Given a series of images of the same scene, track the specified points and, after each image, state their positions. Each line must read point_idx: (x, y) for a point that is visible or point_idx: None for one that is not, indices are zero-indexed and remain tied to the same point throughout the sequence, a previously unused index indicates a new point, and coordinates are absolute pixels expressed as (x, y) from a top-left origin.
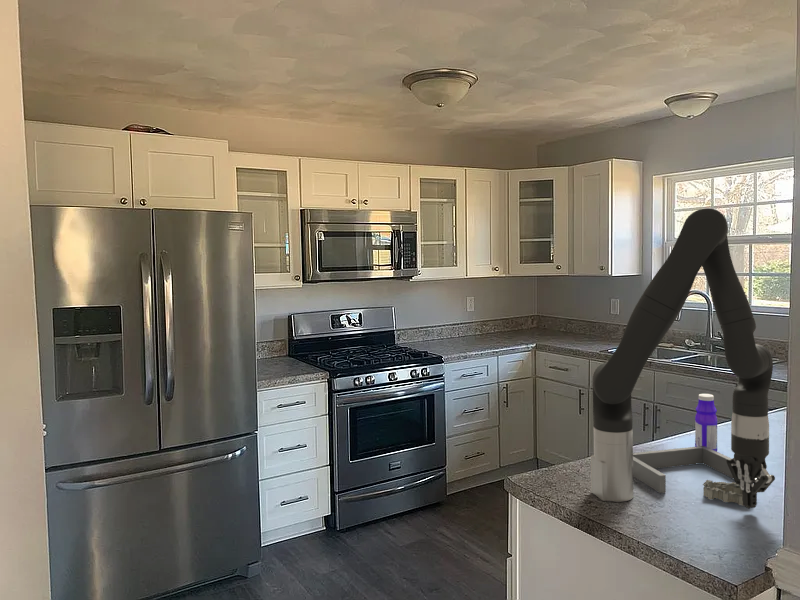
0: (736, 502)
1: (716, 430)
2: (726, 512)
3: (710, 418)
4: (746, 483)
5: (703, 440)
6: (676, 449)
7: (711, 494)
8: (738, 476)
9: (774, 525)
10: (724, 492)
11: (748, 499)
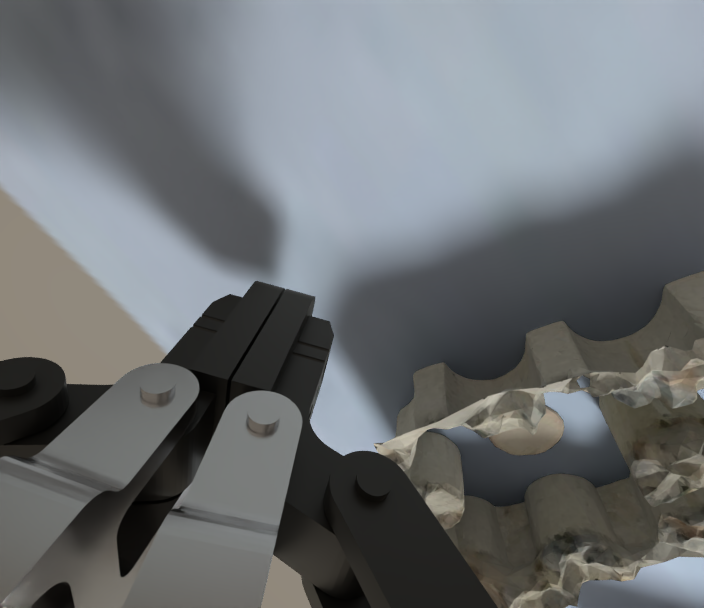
0: (481, 381)
1: None
2: (397, 139)
3: None
4: (128, 471)
5: None
6: None
7: (696, 308)
8: (249, 572)
9: (70, 247)
10: (573, 375)
11: (224, 329)
